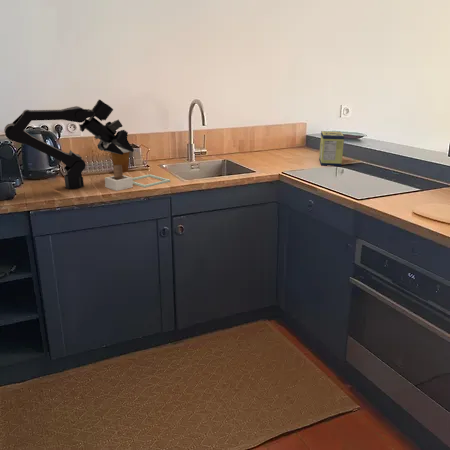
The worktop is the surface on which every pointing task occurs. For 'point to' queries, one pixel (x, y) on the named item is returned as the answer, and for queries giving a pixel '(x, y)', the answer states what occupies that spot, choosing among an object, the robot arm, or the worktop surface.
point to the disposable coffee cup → (121, 159)
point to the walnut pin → (118, 172)
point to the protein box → (331, 148)
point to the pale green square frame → (151, 183)
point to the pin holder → (118, 183)
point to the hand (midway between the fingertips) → (127, 152)
